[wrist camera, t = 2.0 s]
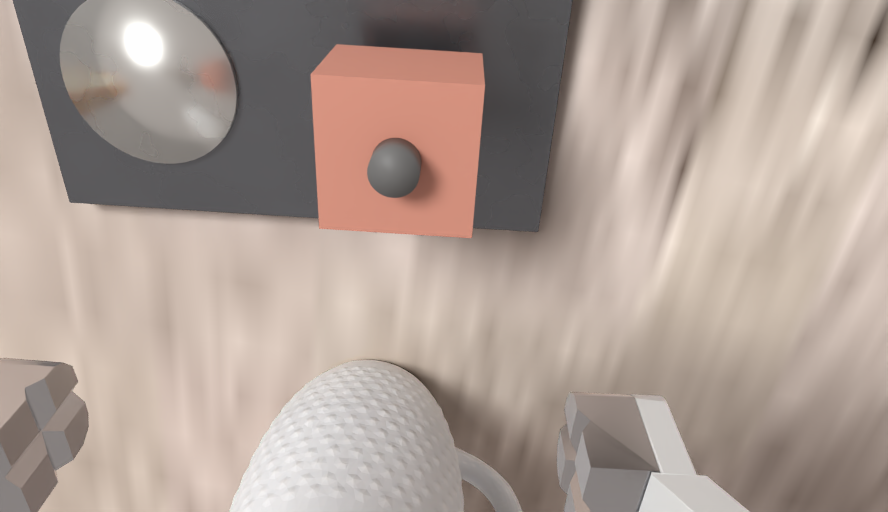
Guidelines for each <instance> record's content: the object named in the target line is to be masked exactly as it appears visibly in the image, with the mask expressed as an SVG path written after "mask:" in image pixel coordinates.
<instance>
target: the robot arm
mask: <svg viewBox="0 0 888 512" xmlns="http://www.w3.org/2000/svg"><path fill="white" fill-rule="evenodd" d="M77 383H78V380H77V377H76V374H75V372H74V369H73V367H72V366H71V365H68V364H65V363H61V362H48V361H36V360H24V359H12V358H3V359H1V358H0V512H38V511H39V509H40V508H41V506H42V505H43V503H44V502H45V500H46V499H47V498H48V496H49V495H50V493H51V492H52V490H53V489H54V487H55V486H56V484H57V483H58V479H57V472H56V470H57V469H59V468H61V467H62V466H64V465H65V464H67V463H69V462H70V461H72V460H74V458H75V457H76V455H77V453H78V452H79V450H80V449H81V447H82V446H83V444H84V440H85V437H86V434H87V431H88V427H89V423H88V411H87V407H86V404H85V402H84V401H83V400H82V399H81V398H80V397H78V396H77V395H76V394H75V393H74V392H73V389H74V387H75V386H76V384H77ZM564 410H565V416H566V421H567V424H566V425H565V426H564V427H562V428H561V429H560V433H559V439H558V446H557V470H558V478H559V485H560V488H561V489H562V490H563V491H564V492H565V493H566V494H567V498H566V503H565V507H564V512H750V511H748V510H747V509H746V508H745V507H744V506H742V505H741V504H740V503H739V502H738V501H736V500H735V499H734V498H733V497H732V496H730V495H729V494H728V493H727V492H726V491H724V490H723V489H722V488H721V487H720V486H718V485H717V484H716V483H715V482H714V481H713V480H711V479H710V478H709V477H708V476H703V475H697V473H696V471H695V468H694V466H693V463H692V461H691V459H690V456H689V454H688V451H687V449H686V446H685V444H684V442H683V439H682V437H681V434H680V432H679V430H678V427H677V425H676V422H675V420H674V418H673V415H672V413H671V410H670V408H669V406H668V403H667V401H666V399H664V398H663V397H662V396H658V395H633V394H631V395H625V394H605V393H585V392H570V393H569V395H568V397H567V400H566V404H565V409H564Z"/></svg>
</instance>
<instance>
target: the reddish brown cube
mask: <svg viewBox="0 0 888 512" xmlns="http://www.w3.org/2000/svg"><path fill="white" fill-rule="evenodd" d="M311 92H312V109H313V127H314V145H315V162H316V180H317V198H318V215H319V229H335V230H351V231H367V232H383V233H398V234H414V235H430V236H446V237H462V238H472V230H473V218H474V207H475V195H476V184H477V172H478V161H479V149H480V138H481V126H482V115H483V103H484V92H485V79H484V67H483V55H482V53H469V52H453V51H437V50H421V49H405V48H389V47H373V46H356V45H340V44H336V45H335V47H334V48H333V49H332V50H331V51H330V52H329V54H328V55H327V56H326V57H325V58H324V59H323V60H322V62H321V63H320V64H319V65H318V66H317V67H316V69H315V70H314V71H313V72H312V73H311Z"/></svg>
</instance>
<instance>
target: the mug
mask: <svg viewBox="0 0 888 512" xmlns="http://www.w3.org/2000/svg"><path fill="white" fill-rule="evenodd" d="M462 479H463V480H465V481H466V482H468V483H470V484H472V485H473V486H475V487H476V488H477V489H478V490H480V491H481V492H482V493H483V494H484V495H485V496H486V497H487V499H488V500H489V501H490V502H491V504H492V505H493V507H494V509H495V511H496V512H523V511H522V509H521V506H520V503H519V501H518V499H517V497H516V495H515V493H514V491H513V490H512V488H511V486H510V485H509V484H508V482H507V481H506V480H505V479H504V478H503V477H502V476H501V475H500V474H499V473H498V472H497V471H495V470H494V469H493V468H492V467H491V466H489V465H488V464H486V463H485V462H483V461H482V460H480V459H478V458H477V457H475V456H473V455H471V454H469V453H467V452H465V451H463V450H461V449H459V448H457V447H455V446H454V439H453V437H452V435H451V433H450V430H449V425H448V423H447V421H446V420H445V418H444V416H443V412H442V409H441V408H440V407H439V405H438V404H437V402H436V400H435V399H434V398H433V396H432V395H431V393H430V392H429V390H428V389H427V388H426V387H425V386H424V385H423V384H422V383H421V382H420V381H419V380H418V379H417V378H416V377H415V376H413V375H412V374H411V373H409V372H408V371H406V370H404V369H402V368H401V367H398V366H396V365H394V364H391V363H388V362H383V361H378V360H355V361H351V362H347V363H344V364H341V365H338V366H336V367H334V368H332V369H329V370H327V371H326V372H324V373H322V374H321V375H319V376H317V377H316V378H314V379H313V380H312V381H310V382H308V383H306V385H305V386H304V387H303V388H302V389H301V390H300V391H299V392H297V393H295V395H294V396H293V398H292V399H291V400H290V401H289V402H288V403H287V404H286V405H285V406H284V407H283V408H282V410H281V412H280V414H279V415H278V416H277V417H276V418H275V419H274V420H273V422H272V424H271V426H270V428H269V430H268V431H267V432H266V433H265V434H264V436H263V438H262V439H261V442H260V444H259V447H258V448H257V450H256V451H255V452H254V455H253V456H252V458H251V461H250V465H249V467H248V468H247V470H246V472H245V473H244V475H243V478H242V480H241V484H240V487H239V488H238V490H237V492H236V494H235V496H234V498H233V502H232V506H231V508H230V510H229V512H464V495H463V491H462Z"/></svg>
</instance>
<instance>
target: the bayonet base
mask: <svg viewBox="0 0 888 512" xmlns="http://www.w3.org/2000/svg"><path fill="white" fill-rule="evenodd" d="M13 3H14V7H15V10H16V14H17V17H18V21H19V24H20V28H21V31H22V35H23V38H24V42H25V45H26V49H27V53H28V56H29V60H30V63H31V67H32V70H33V74H34V77H35V81H36V84H37V88H38V91H39V95H40V99H41V102H42V106H43V109H44V113H45V116H46V120H47V123H48V127H49V130H50V134H51V138H52V141H53V145H54V148H55V152H56V155H57V159H58V162H59V166H60V169H61V173H62V176H63V180H64V184H65V187H66V191H67V194H68V198H69V201H70V202H71V203H87V204H103V205H119V206H135V207H150V208H166V209H182V210H198V211H214V212H230V213H246V214H261V215H277V216H293V217H309V218H319V215H318V198H317V180H316V162H315V145H314V127H313V109H312V92H311V73H312V72H313V71H314V70H315V69H316V67H317V66H318V65H319V64H320V63H321V62H322V60H323V59H324V58H325V57H326V56H327V55H328V54H329V52H330V51H331V50H332V49H333V48H334V47H335V45H336V44H340V45H356V46H373V47H389V48H405V49H421V50H437V51H453V52H469V53H482V55H483V67H484V79H485V92H484V103H483V115H482V126H481V138H480V149H479V161H478V172H477V184H476V195H475V207H474V218H473V228H483V229H499V230H515V231H531V232H538V229H539V223H540V216H541V209H542V202H543V196H544V189H545V182H546V175H547V169H548V162H549V155H550V148H551V142H552V135H553V128H554V121H555V115H556V108H557V101H558V95H559V88H560V81H561V74H562V68H563V61H564V54H565V47H566V41H567V34H568V27H569V20H570V14H571V7H572V0H13Z"/></svg>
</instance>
